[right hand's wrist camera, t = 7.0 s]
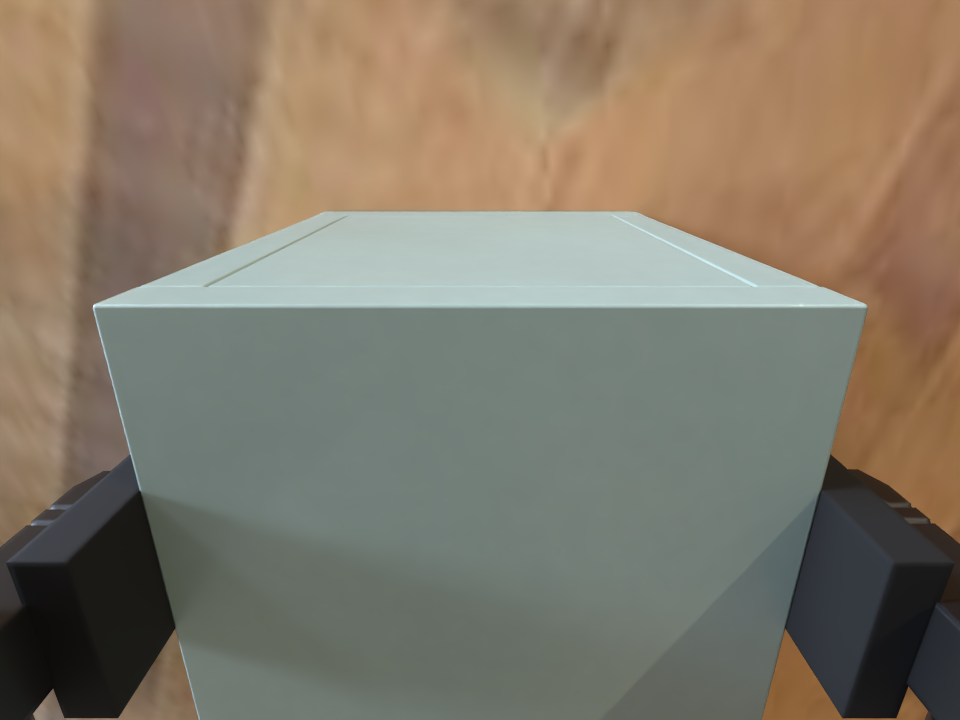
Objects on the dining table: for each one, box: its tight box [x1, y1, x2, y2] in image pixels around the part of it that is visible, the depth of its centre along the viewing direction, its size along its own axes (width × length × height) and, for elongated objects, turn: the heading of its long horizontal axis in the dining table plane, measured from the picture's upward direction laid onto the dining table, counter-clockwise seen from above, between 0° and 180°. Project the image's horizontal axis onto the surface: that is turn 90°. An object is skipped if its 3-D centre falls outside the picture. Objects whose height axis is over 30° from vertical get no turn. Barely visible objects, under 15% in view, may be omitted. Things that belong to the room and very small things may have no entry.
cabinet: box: [93, 212, 868, 720], centre depth 16 cm, size 17×10×12 cm, turn 0°
